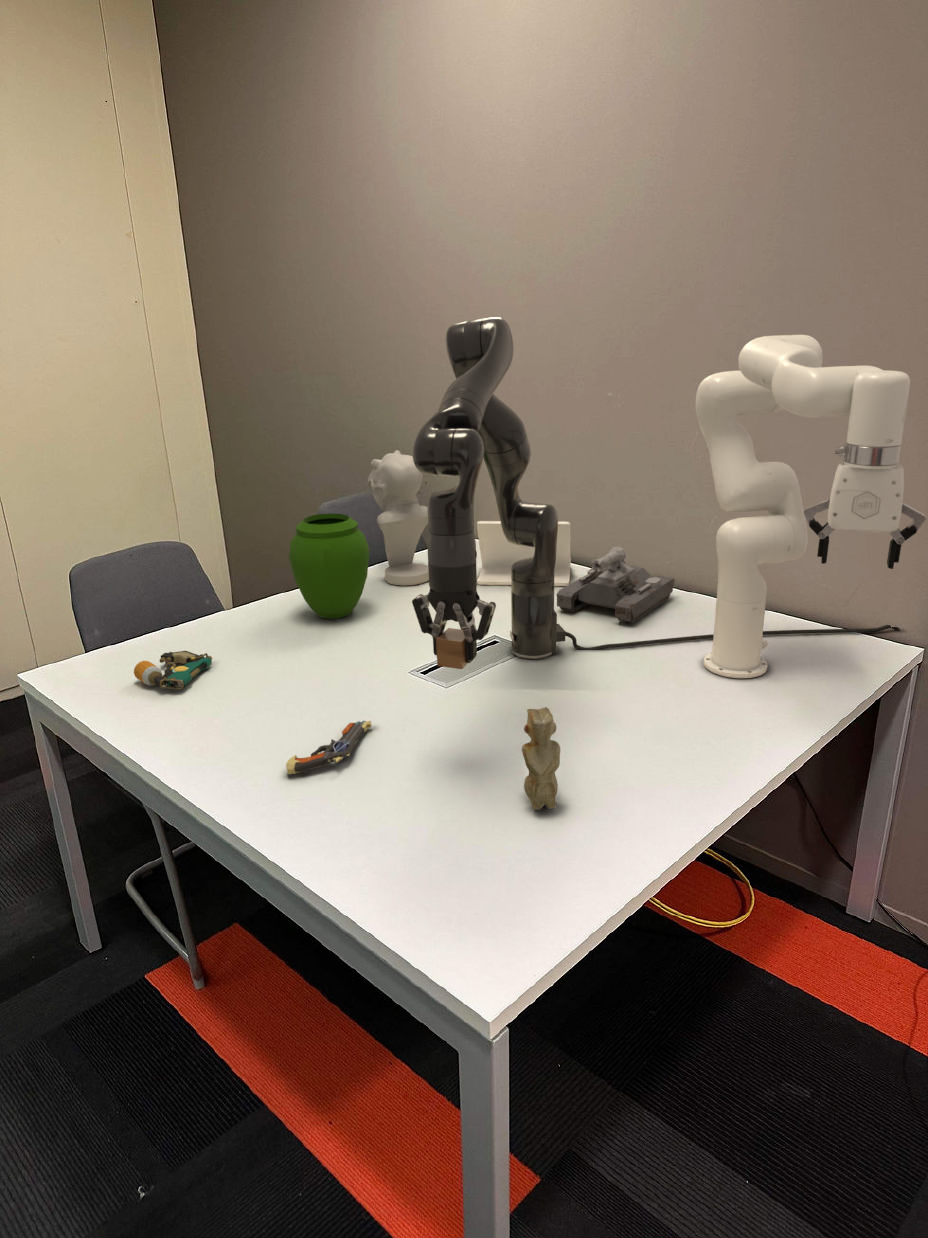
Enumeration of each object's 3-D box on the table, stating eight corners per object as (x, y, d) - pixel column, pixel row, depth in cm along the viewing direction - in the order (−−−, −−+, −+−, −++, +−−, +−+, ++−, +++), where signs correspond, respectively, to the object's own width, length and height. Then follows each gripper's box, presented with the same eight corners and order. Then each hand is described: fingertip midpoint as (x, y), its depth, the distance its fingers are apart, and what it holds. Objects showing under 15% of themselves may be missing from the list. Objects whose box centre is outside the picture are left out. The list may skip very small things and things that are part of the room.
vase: (389, 608, 216) (383, 514, 208) (339, 633, 201) (330, 533, 192) (330, 596, 226) (322, 506, 218) (278, 619, 211) (267, 523, 202)
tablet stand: (569, 585, 229) (570, 524, 223) (476, 584, 232) (475, 523, 226) (570, 566, 246) (571, 508, 240) (484, 564, 249) (483, 507, 243)
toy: (603, 584, 229) (605, 530, 224) (673, 597, 218) (677, 540, 213) (555, 612, 210) (556, 553, 205) (630, 627, 199) (633, 566, 194)
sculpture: (556, 787, 135) (557, 702, 130) (563, 813, 129) (564, 724, 123) (519, 789, 135) (519, 704, 130) (524, 815, 129) (524, 726, 123)
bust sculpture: (408, 559, 256) (402, 442, 244) (444, 580, 236) (440, 453, 224) (358, 568, 250) (349, 447, 237) (391, 590, 230) (383, 460, 217)
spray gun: (177, 659, 191) (231, 671, 185) (120, 684, 176) (176, 698, 171) (176, 641, 190) (230, 653, 184) (118, 665, 175) (174, 678, 169)
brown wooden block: (449, 654, 142) (448, 627, 140) (473, 657, 140) (472, 630, 139) (437, 666, 137) (436, 638, 136) (462, 669, 136) (461, 642, 134)
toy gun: (281, 764, 140) (338, 761, 138) (320, 718, 158) (372, 715, 156) (284, 779, 141) (341, 777, 139) (323, 732, 159) (374, 729, 156)
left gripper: (400, 561, 132) (405, 662, 138) (487, 569, 127) (488, 674, 133) (420, 548, 138) (424, 646, 144) (503, 555, 133) (504, 656, 139)
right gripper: (809, 457, 129) (797, 566, 135) (938, 462, 123) (919, 575, 129) (810, 449, 135) (798, 553, 142) (933, 453, 129) (915, 561, 135)
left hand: (455, 658), depth 139 cm, fingers closed on brown wooden block, 4 cm apart
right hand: (856, 563), depth 135 cm, fingers open, 9 cm apart
